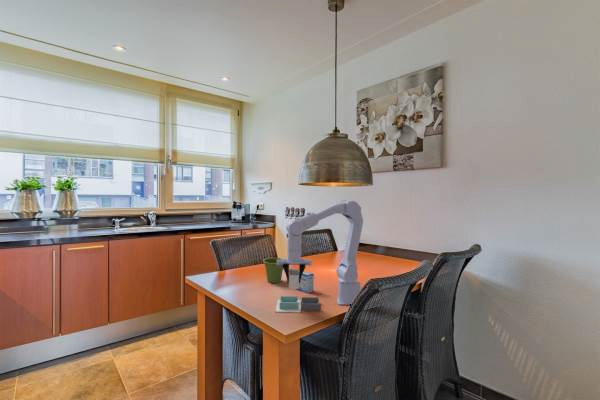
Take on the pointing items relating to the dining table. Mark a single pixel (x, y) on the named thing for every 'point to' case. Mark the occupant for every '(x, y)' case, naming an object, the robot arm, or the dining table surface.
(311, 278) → the medicine box
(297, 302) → the port
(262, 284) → the dining table surface
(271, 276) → the plant pot
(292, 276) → the plug
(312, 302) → the grey arch stand
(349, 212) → the robot arm
